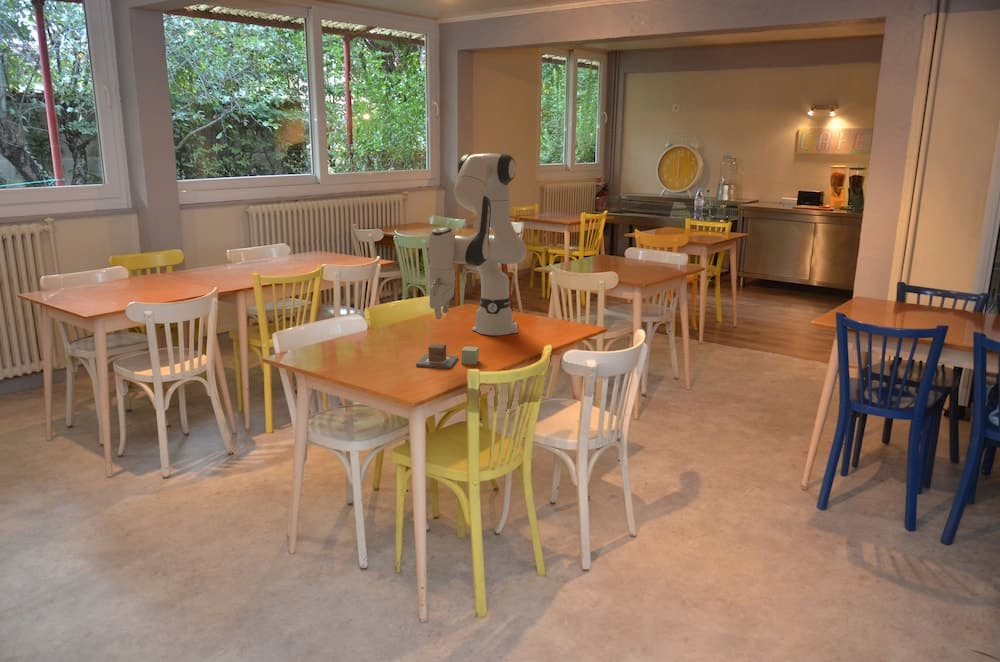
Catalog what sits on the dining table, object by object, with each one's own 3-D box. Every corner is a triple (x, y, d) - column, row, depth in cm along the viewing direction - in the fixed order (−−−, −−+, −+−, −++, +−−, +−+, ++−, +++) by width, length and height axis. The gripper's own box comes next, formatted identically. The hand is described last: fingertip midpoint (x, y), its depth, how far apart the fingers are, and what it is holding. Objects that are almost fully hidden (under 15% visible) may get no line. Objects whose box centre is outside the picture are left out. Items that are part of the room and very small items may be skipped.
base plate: (425, 356, 279) (425, 353, 279) (458, 358, 277) (458, 355, 277) (416, 366, 267) (416, 363, 267) (450, 368, 265) (450, 365, 265)
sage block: (464, 360, 276) (464, 346, 275) (478, 360, 275) (478, 347, 274) (461, 364, 271) (461, 350, 270) (475, 364, 271) (475, 351, 269)
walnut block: (432, 357, 275) (432, 343, 273) (446, 357, 274) (446, 344, 273) (428, 361, 270) (428, 347, 269) (442, 362, 269) (442, 348, 268)
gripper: (443, 282, 254) (443, 323, 258) (457, 271, 274) (457, 309, 277) (424, 281, 255) (425, 322, 259) (440, 270, 275) (440, 308, 278)
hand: (442, 315), depth 268 cm, fingers open, 8 cm apart
